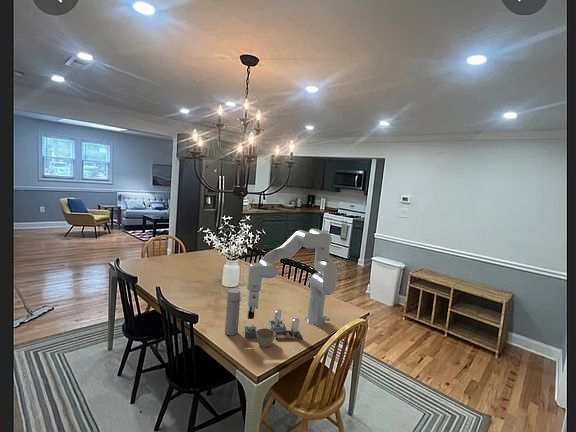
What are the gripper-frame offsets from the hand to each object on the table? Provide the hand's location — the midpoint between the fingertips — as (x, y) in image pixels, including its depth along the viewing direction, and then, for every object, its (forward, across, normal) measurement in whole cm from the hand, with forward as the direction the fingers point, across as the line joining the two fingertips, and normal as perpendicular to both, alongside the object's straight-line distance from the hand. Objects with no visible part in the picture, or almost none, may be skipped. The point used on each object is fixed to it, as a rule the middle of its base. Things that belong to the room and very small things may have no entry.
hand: (250, 318), depth 168 cm
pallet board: (+10, -3, -21) cm, 24 cm away
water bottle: (+11, +3, +9) cm, 15 cm away
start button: (+8, 0, -1) cm, 8 cm away
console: (+11, 0, -1) cm, 11 cm away
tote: (+10, +9, -17) cm, 22 cm away
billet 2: (+9, -3, -25) cm, 27 cm away
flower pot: (+11, -9, -8) cm, 16 cm away
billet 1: (+10, +9, -17) cm, 21 cm away
